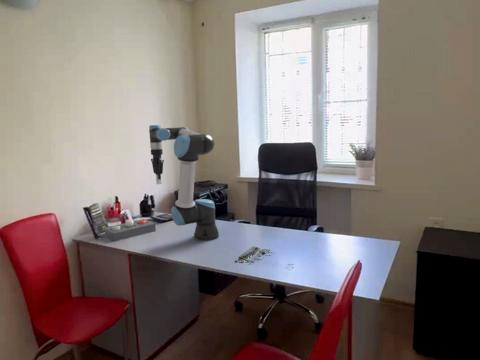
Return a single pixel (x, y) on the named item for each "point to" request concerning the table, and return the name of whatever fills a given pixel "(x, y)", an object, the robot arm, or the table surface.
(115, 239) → the grey tray
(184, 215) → the robot arm
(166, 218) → the table surface
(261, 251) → the model
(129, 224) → the button cream
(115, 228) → the button sage
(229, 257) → the table surface
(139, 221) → the button red
